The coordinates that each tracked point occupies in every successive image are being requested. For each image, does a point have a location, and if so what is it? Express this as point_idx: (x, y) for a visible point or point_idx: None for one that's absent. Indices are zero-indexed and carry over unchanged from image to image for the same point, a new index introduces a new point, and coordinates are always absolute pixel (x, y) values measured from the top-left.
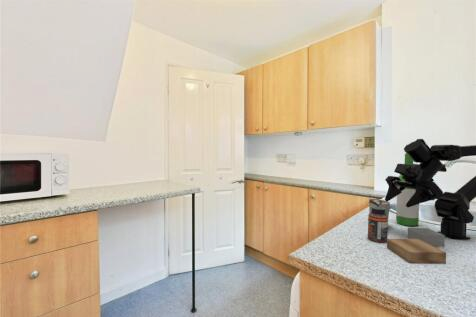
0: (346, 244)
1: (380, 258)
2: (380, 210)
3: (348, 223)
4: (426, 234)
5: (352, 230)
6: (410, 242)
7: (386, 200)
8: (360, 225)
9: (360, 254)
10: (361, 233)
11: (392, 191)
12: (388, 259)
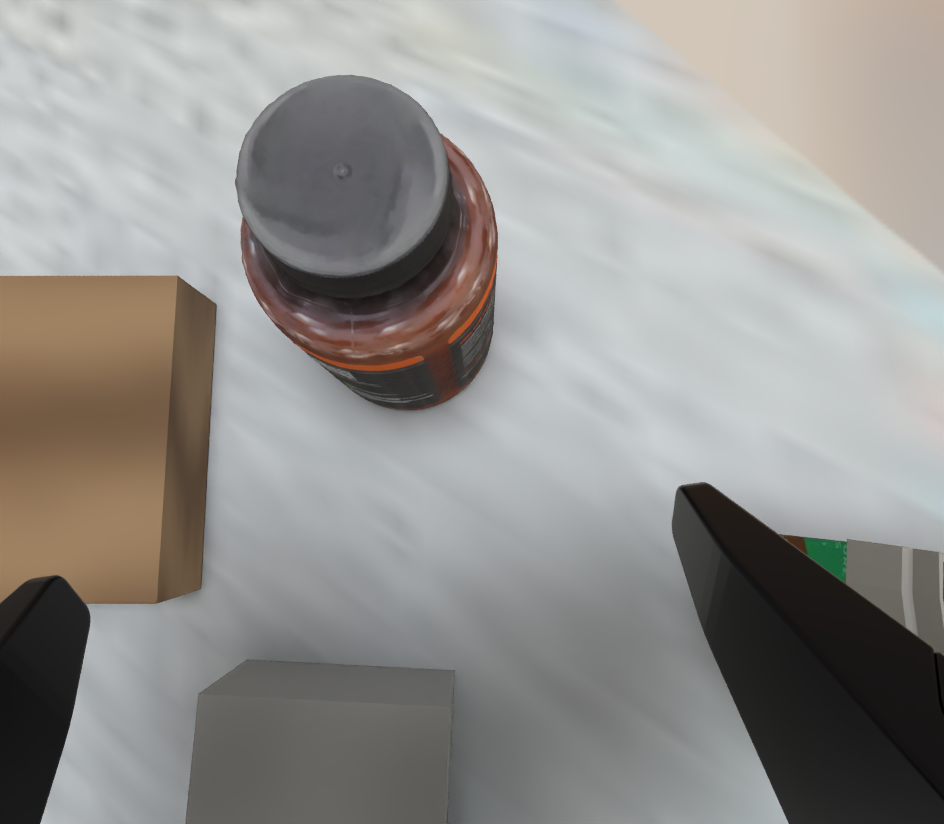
0: (300, 11)
1: (31, 140)
2: (247, 166)
3: (911, 285)
4: (210, 761)
5: (665, 220)
6: (67, 440)
7: (673, 511)
8: (848, 388)
9: (106, 31)
10: (578, 268)
11: (890, 818)
12: (10, 188)
